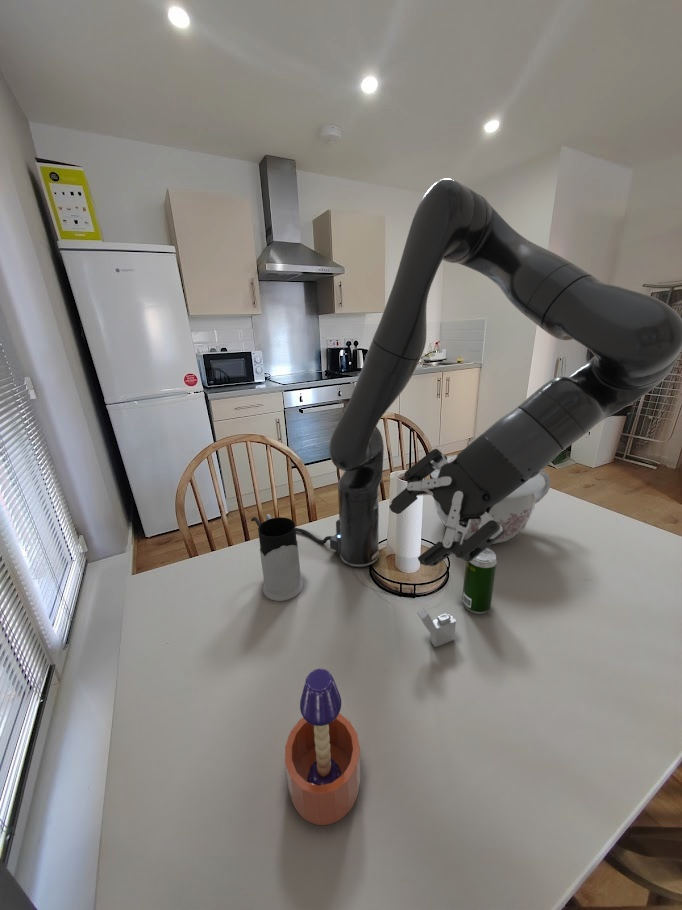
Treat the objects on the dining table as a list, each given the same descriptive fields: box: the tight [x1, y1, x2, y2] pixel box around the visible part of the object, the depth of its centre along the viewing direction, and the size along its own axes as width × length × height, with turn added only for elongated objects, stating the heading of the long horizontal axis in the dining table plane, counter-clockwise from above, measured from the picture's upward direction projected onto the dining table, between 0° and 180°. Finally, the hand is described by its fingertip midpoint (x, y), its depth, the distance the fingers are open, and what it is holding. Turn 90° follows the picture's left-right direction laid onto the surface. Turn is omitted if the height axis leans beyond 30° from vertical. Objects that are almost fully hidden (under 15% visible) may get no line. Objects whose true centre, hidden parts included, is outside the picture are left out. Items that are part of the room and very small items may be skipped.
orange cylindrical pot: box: [284, 712, 361, 826], centre depth 43 cm, size 9×9×6 cm
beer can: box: [461, 547, 498, 615], centre depth 69 cm, size 5×5×12 cm
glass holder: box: [257, 513, 304, 602], centre depth 77 cm, size 9×14×15 cm, turn 24°
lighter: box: [416, 607, 457, 648], centre depth 61 cm, size 7×2×8 cm, turn 111°
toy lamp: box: [299, 668, 342, 785], centre depth 41 cm, size 5×5×17 cm
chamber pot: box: [430, 454, 552, 545], centre depth 92 cm, size 28×28×21 cm
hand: (406, 535), depth 47 cm, fingers open, 8 cm apart
